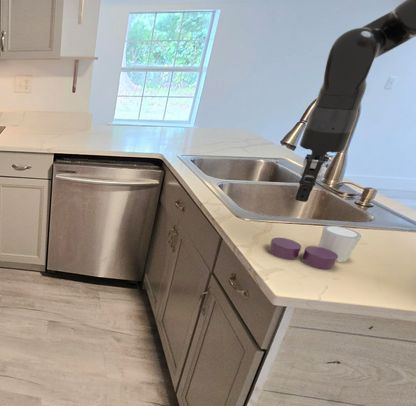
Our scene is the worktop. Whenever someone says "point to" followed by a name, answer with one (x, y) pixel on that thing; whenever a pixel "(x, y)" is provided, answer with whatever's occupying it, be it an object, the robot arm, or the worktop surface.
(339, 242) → the shot glass
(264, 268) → the worktop surface
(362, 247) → the worktop surface
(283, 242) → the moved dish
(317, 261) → the purple short cylinder
